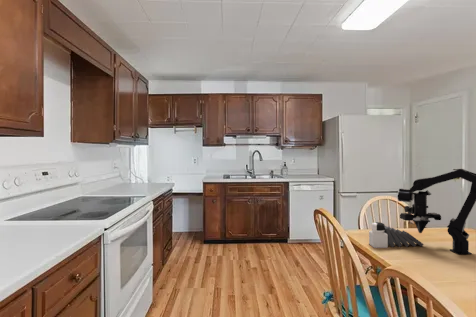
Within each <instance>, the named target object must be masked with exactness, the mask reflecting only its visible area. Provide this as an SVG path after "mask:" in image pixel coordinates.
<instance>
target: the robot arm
mask: <svg viewBox="0 0 476 317" xmlns="http://www.w3.org/2000/svg"><path fill="white" fill-rule="evenodd" d="M459 178H461V179H463V180H465V181H467V182H470V183H471V185H470V190H469V193H468V195H467V197H466V199H465V201H464V203H463V205H462V206H461V208H460V210H459V212H458V214H457V216H456V217H455V218H454V217H452V218H451V219H450V221H449V223H448V225H447V226H446V228H447V230H446V231H447V234H448V235H449V236H451V238H452V248H449V251H450V252H452V253H455V254H457V255H473V254H472V253H473V252H470V251H469V250H470V249H469V244H470V243H469V240H468V239H469V237H470V234H469V233H468V232H467V231H466V230H465V229H466V228H465V227H466V224H467V219H468V218H469V215H470V213H471V212H472V210H473V208H474V206H475V204H476V173H475V172H472V171H469V170H466V169H465V168H457V169H456V170H452V171H449V172H446V173H443V174H439V175H436V176H430V177H423V178H418V179H416V180H413V182H412V187H411V188H409V189H407V188H399V189H398V193H397V194H398V195H397V200H398V202H405V203H412V201H413V204H412V206H410V205H405V206H404V212H401V213H400V215H399V219H400V220H404V221H412V222H413V223H414V224H415V226H416V229H417V231H418V233H419V234H422V233H423V231H424V229H425V228H426V227H427V225H428V223H430V222H431V220H430V219H434V220H435V221H442V216H441V215H442V214H439V213H437V212H428V209H429V205H427V203H428V200H427V198H428V197H427V196H431V195H432V193H431V192H430V191H429V190H428V188H430V187H432V186H435V185H438V184H441V183H444V182H448V181H452V180H456V179H459ZM426 189H427V190H426ZM424 190H425V191H424ZM417 191H418V192H417Z"/></svg>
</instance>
